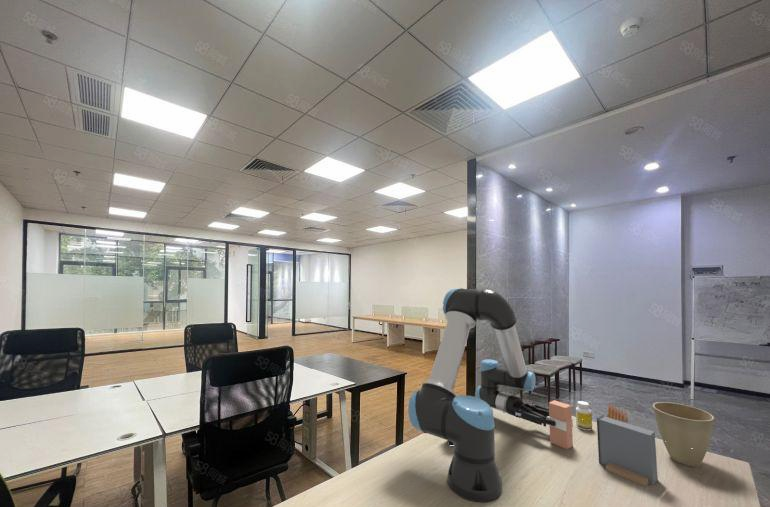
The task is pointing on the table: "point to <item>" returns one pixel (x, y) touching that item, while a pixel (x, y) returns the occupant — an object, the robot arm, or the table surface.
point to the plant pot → (684, 431)
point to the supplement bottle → (583, 416)
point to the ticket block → (627, 450)
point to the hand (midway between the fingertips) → (569, 425)
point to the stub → (565, 415)
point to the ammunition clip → (616, 414)
